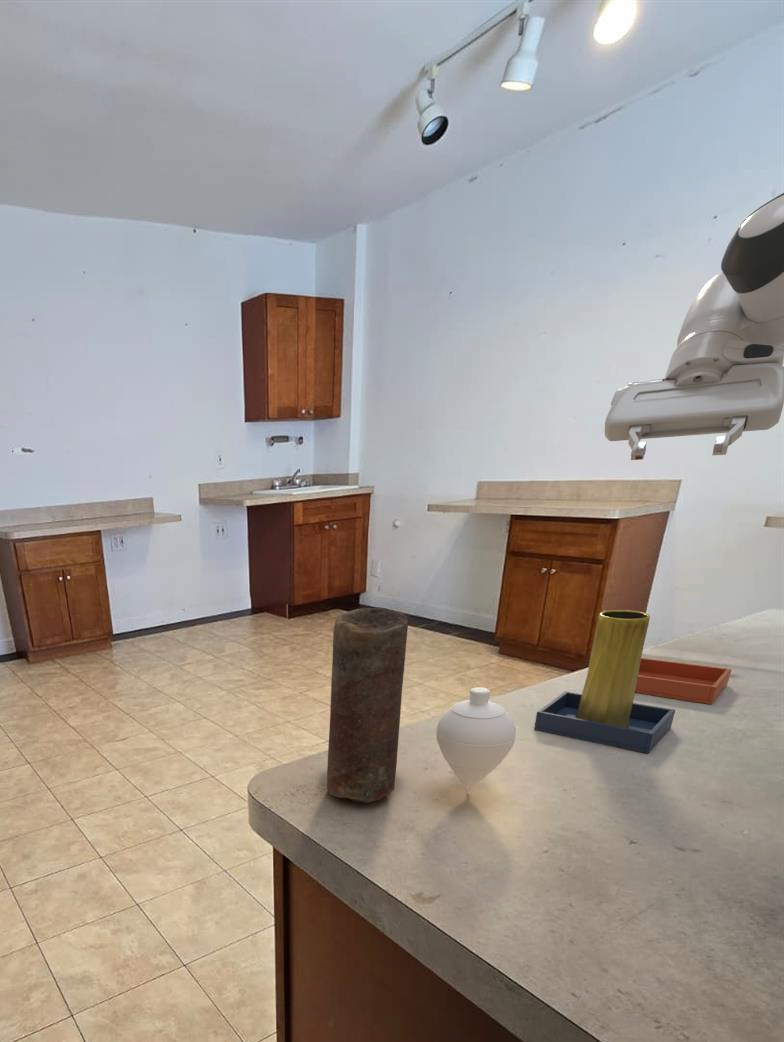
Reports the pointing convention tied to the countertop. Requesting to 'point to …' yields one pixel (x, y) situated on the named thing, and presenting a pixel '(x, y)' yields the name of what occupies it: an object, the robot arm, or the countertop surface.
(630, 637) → the vase
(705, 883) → the countertop surface
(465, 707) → the spinning top
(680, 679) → the terracotta tray
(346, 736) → the candle
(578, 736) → the blue tray
